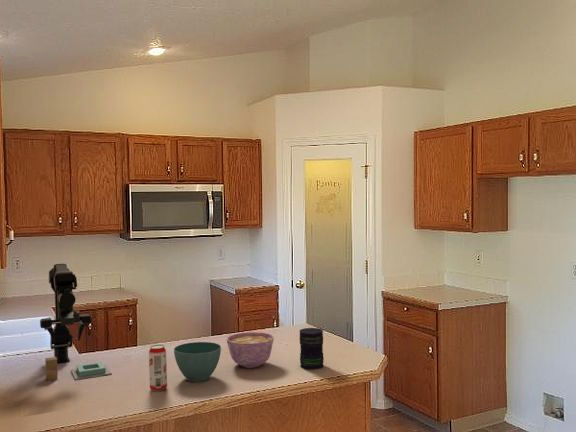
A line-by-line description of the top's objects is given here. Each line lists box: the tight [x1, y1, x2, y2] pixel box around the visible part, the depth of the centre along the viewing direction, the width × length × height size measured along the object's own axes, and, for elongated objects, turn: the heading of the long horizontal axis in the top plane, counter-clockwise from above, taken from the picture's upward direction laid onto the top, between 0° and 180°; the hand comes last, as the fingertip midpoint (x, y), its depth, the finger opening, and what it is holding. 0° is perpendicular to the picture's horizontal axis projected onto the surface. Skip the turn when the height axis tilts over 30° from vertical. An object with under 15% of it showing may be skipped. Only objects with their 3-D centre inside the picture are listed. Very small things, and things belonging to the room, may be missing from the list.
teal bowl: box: [173, 341, 222, 383], centre depth 226 cm, size 18×18×12 cm
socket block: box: [70, 361, 112, 381], centre depth 237 cm, size 14×14×2 cm
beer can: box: [148, 344, 168, 393], centre depth 214 cm, size 6×6×16 cm
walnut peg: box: [44, 356, 59, 382], centre depth 230 cm, size 4×4×8 cm
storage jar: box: [299, 327, 325, 371], centre depth 239 cm, size 10×10×15 cm
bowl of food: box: [226, 331, 275, 369], centre depth 243 cm, size 20×20×12 cm
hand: (66, 342), depth 229 cm, fingers open, 9 cm apart
